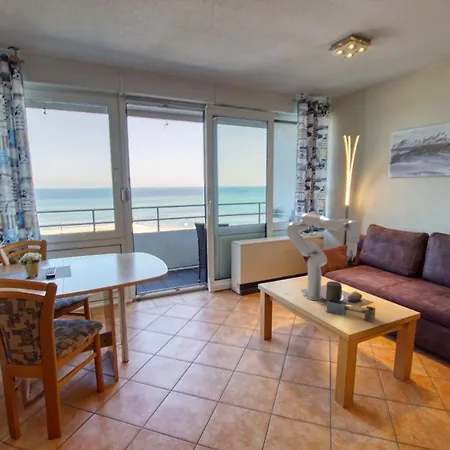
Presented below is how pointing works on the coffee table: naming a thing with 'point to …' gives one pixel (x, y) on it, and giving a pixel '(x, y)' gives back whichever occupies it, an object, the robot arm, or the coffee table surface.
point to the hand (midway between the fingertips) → (351, 264)
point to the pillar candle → (333, 290)
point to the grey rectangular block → (336, 307)
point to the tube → (355, 308)
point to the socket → (370, 314)
